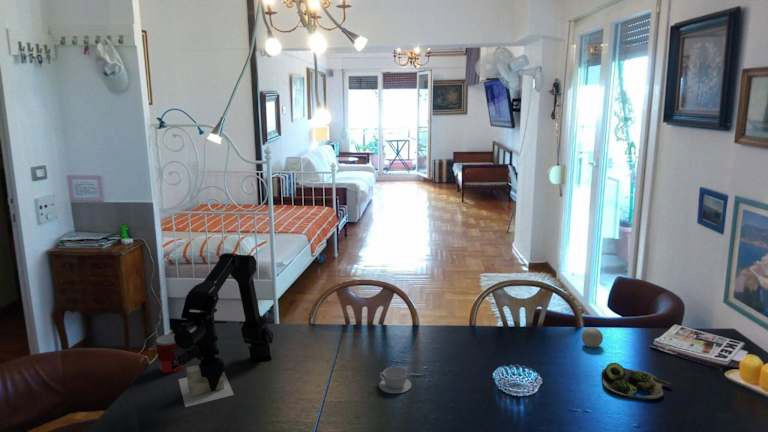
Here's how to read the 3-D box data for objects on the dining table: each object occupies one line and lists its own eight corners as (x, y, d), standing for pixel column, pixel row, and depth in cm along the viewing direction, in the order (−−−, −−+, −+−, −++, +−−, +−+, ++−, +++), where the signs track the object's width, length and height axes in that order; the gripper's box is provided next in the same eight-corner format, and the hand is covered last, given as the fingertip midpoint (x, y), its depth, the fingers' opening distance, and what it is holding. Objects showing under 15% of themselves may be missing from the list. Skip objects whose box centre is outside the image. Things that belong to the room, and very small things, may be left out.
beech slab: (222, 383, 172) (219, 360, 171) (224, 389, 169) (221, 364, 168) (188, 392, 168) (186, 367, 166) (190, 397, 165) (187, 372, 163)
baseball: (606, 346, 191) (608, 329, 190) (593, 352, 187) (595, 334, 186) (590, 339, 197) (591, 322, 195) (577, 345, 193) (578, 327, 191)
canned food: (176, 375, 179) (172, 344, 177) (154, 373, 181) (150, 342, 178) (189, 364, 186) (185, 334, 184) (168, 362, 188) (164, 332, 185)
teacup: (415, 380, 172) (415, 367, 171) (406, 397, 163) (405, 383, 162) (385, 376, 176) (384, 362, 175) (374, 392, 167) (374, 378, 165)
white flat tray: (223, 369, 182) (222, 368, 182) (234, 395, 166) (233, 394, 166) (178, 380, 176) (178, 379, 176) (185, 408, 160) (185, 407, 160)
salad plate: (665, 376, 172) (667, 362, 171) (676, 407, 155) (678, 392, 154) (599, 368, 177) (600, 355, 176) (603, 397, 161) (604, 382, 160)
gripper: (170, 326, 158) (177, 375, 161) (178, 353, 141) (184, 407, 145) (210, 318, 162) (215, 366, 166) (222, 343, 146) (227, 396, 150)
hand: (210, 383), depth 156 cm, fingers open, 9 cm apart
